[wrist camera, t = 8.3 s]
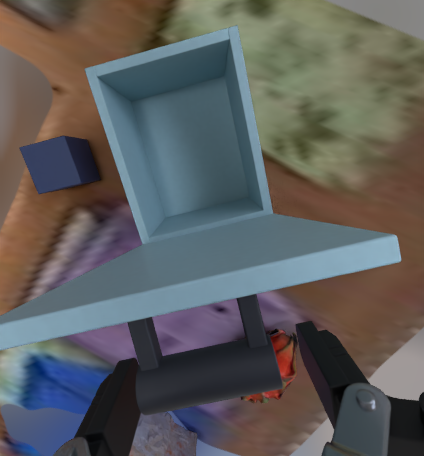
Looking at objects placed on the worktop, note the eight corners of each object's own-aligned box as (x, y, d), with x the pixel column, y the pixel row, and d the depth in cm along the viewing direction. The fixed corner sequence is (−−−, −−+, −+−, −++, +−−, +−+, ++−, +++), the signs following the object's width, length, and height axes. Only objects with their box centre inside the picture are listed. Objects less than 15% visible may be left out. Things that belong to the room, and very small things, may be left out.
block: (48, 149, 31) (18, 147, 27) (86, 139, 31) (64, 135, 26) (64, 189, 33) (38, 194, 28) (101, 179, 32) (81, 183, 28)
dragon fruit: (221, 360, 41) (276, 309, 41) (258, 411, 37) (318, 355, 37) (203, 371, 33) (270, 308, 33) (247, 437, 30) (322, 367, 29)
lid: (-34, 331, 8) (16, 482, 8) (398, 234, 7) (430, 405, 7) (140, 245, 24) (154, 295, 24) (273, 213, 23) (285, 266, 24)
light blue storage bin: (124, 97, 30) (84, 68, 21) (229, 69, 29) (237, 24, 20) (162, 223, 34) (143, 247, 24) (255, 200, 33) (273, 216, 24)
